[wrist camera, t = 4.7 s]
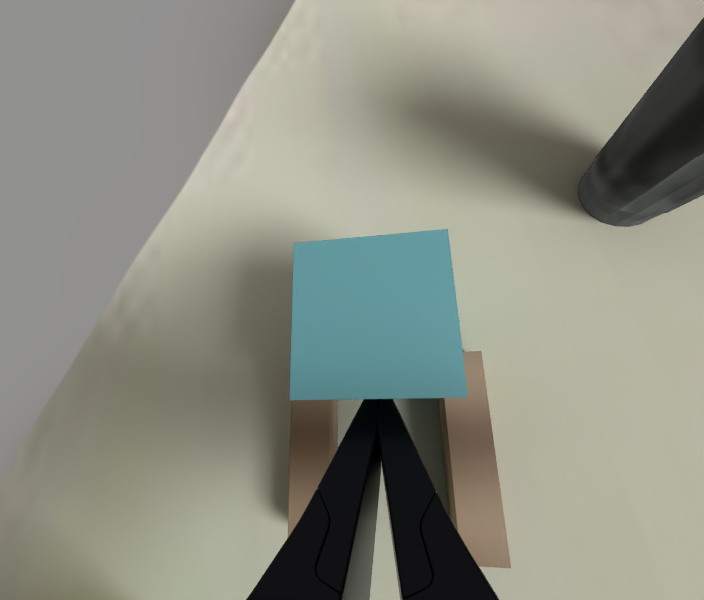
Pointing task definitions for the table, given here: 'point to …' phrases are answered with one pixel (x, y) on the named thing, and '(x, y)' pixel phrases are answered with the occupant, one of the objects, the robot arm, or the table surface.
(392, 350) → the block
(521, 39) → the table surface
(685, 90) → the beverage cup
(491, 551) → the chute
